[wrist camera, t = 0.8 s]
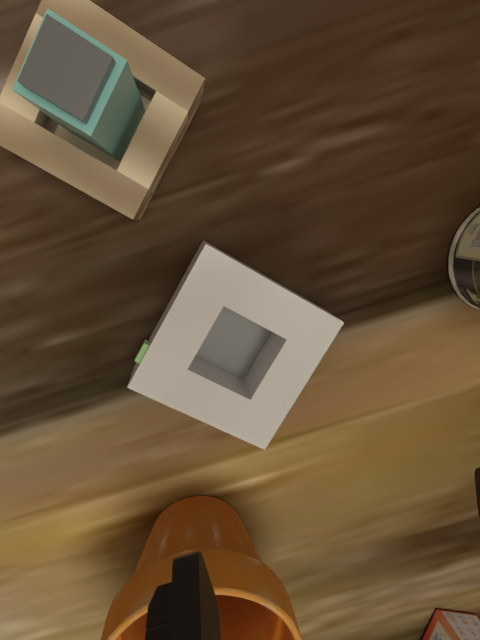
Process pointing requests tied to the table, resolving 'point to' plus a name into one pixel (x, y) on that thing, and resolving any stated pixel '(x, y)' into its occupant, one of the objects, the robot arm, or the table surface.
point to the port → (233, 347)
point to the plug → (81, 85)
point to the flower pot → (223, 568)
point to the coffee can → (466, 260)
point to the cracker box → (453, 626)
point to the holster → (80, 156)
